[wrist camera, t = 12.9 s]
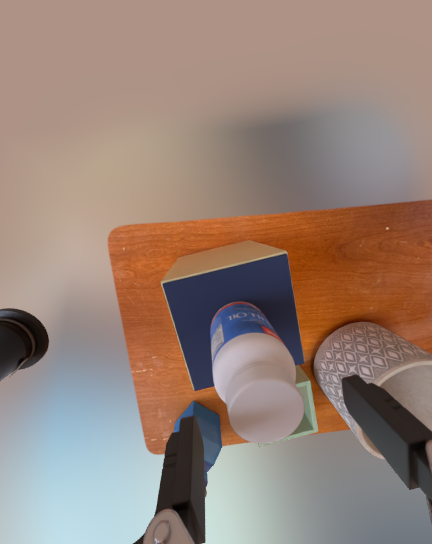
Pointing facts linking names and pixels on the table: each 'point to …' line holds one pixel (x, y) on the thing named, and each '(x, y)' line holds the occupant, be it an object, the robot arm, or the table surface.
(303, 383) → the green hollow square box
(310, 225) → the table surface
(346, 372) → the planter
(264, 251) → the stand
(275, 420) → the pill bottle
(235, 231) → the table surface
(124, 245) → the table surface
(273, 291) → the pad
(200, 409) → the perfume bottle
